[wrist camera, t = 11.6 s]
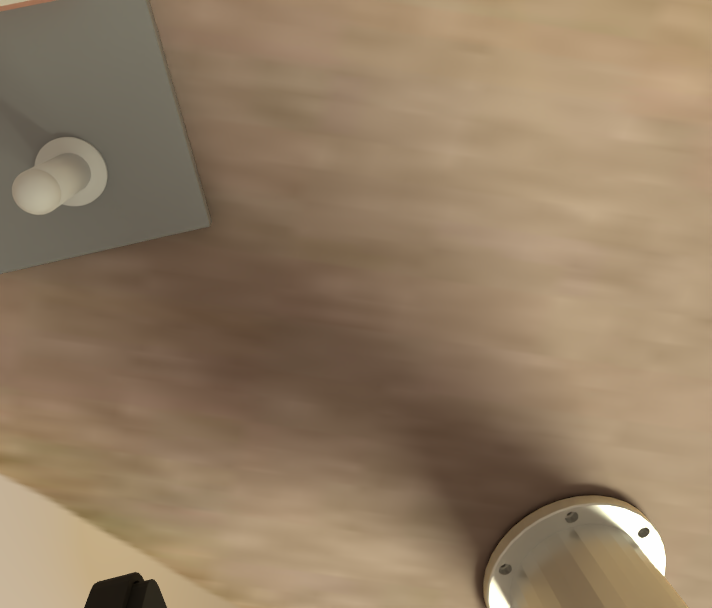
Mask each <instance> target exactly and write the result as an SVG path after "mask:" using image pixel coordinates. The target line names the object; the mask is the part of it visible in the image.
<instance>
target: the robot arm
mask: <svg viewBox="0 0 712 608" xmlns="http://www.w3.org/2000/svg"><path fill="white" fill-rule="evenodd" d="M665 566H666V554H665V548H664V544H663V541H662V539H661V537H660V534H659V532H658V531H657V530H656V528H655V527H654V526H653V525H652V523H651V522H650V521H649V519H648V518H647V517H646V516H645V515H644V514H643V513H642V512H640V511H639V510H638V509H637V508H635V507H633V506H632V505H630V504H628V503H627V502H624V501H621V500H618V499H615V498H612V497H605V496H597V495H590V496H576V497H572V498H567V499H563V500H559V501H556V502H554V503H551V504H549V505H546V506H544V507H542V508H540V509H538V510H536V511H535V512H533V513H531V514H529V515H528V516H526V517H525V518H524V519H522V520H521V521H520V522H519V523H517V524H516V525H515V526H514V527H513V528H512V529H511V530H510V531H509V532H508V533H507V534H506V535H505V536H504V537H503V538H502V540H501V541H500V542H499V544H498V545H497V547H496V548H495V550H494V552H493V553H492V555H491V557H490V560H489V562H488V565H487V567H486V570H485V576H484V581H483V592H484V600H485V603H486V607H487V608H689V607H688V606H687V605H686V603H685V602H684V601H683V600H682V598H681V597H680V596H679V595H678V593H677V592H676V591H675V590H674V588H673V587H672V586H671V585H670V583H669V582H668V581H667V580H666V578H665V577H664V574H665ZM84 608H167V607H166V604H165V602H164V599H163V596H162V594H161V591H160V589H159V586H158V584H157V582H156V581H155V580H153V579H151V580H147V581H144V579H143V577H142V576H141V575H140V574H139V573H136V572H134V573H130V574H127V575H123V576H119V577H115V578H111V579H107V580H103V581H99V582H97V583H95V584H94V585H93V587H92V589H91V591H90V594H89V597H88V599H87V602H86V604H85V607H84Z"/></svg>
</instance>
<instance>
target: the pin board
mask: <svg viewBox="0 0 712 608" xmlns="http://www.w3.org/2000/svg"><path fill="white" fill-rule="evenodd" d="M211 222H212V220H211V217H210V213H209V210H208V206H207V203H206V199H205V196H204V192H203V188H202V185H201V181H200V178H199V174H198V171H197V167H196V164H195V160H194V157H193V153H192V150H191V146H190V143H189V139H188V136H187V132H186V129H185V125H184V122H183V118H182V115H181V111H180V107H179V104H178V100H177V97H176V93H175V90H174V86H173V83H172V79H171V76H170V72H169V69H168V65H167V62H166V58H165V55H164V51H163V48H162V44H161V41H160V37H159V34H158V30H157V27H156V23H155V19H154V16H153V12H152V9H151V5H150V2H149V0H56V1H51V2H46V3H41V4H36V5H31V6H26V7H21V8H16V9H11V10H6V11H1V12H0V274H3V273H7V272H11V271H16V270H20V269H25V268H29V267H33V266H38V265H42V264H47V263H51V262H55V261H60V260H64V259H69V258H73V257H77V256H82V255H86V254H91V253H95V252H99V251H104V250H108V249H113V248H117V247H121V246H126V245H130V244H135V243H139V242H143V241H148V240H152V239H157V238H161V237H165V236H170V235H174V234H179V233H183V232H187V231H192V230H196V229H201V228H205V227H209V226H210V225H211Z"/></svg>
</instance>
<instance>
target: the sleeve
mask: <svg viewBox="0 0 712 608" xmlns="http://www.w3.org/2000/svg"><path fill="white" fill-rule="evenodd" d="M51 1H56V0H0V12H1V11H6V10H11V9H16V8H21V7H26V6H31V5H36V4H41V3H46V2H51Z"/></svg>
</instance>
